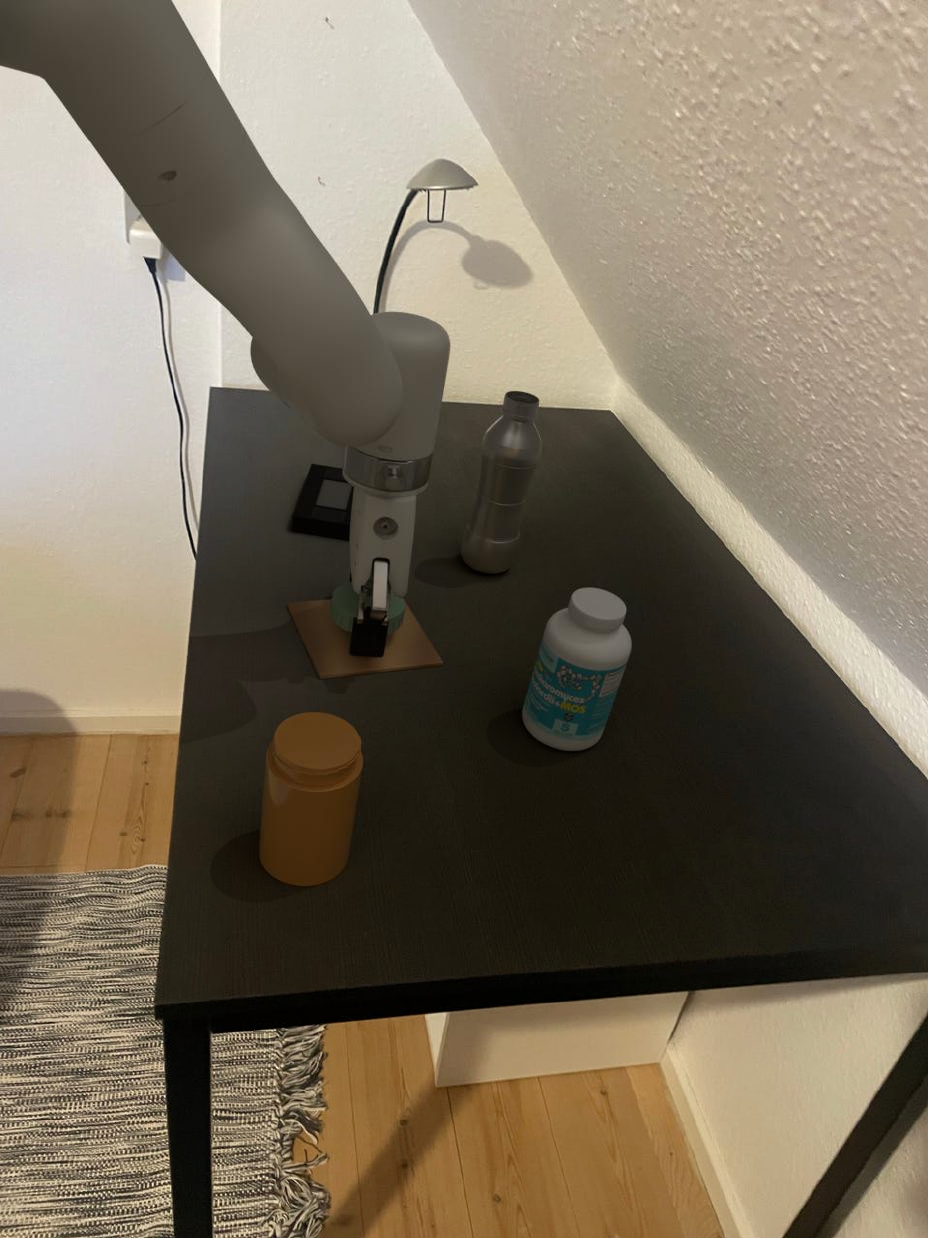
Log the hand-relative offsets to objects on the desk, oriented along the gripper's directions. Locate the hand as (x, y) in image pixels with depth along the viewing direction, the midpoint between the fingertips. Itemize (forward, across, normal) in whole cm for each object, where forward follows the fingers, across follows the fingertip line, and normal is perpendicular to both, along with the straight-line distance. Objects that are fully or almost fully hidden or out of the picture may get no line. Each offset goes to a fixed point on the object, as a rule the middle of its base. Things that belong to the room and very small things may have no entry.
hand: (364, 630), depth 91 cm
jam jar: (+1, -28, +6) cm, 28 cm away
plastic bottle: (+1, +15, -15) cm, 21 cm away
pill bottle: (+1, -13, -17) cm, 21 cm away
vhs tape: (+1, +26, +2) cm, 26 cm away
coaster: (+1, 0, 0) cm, 1 cm away
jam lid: (-3, 0, 0) cm, 3 cm away
